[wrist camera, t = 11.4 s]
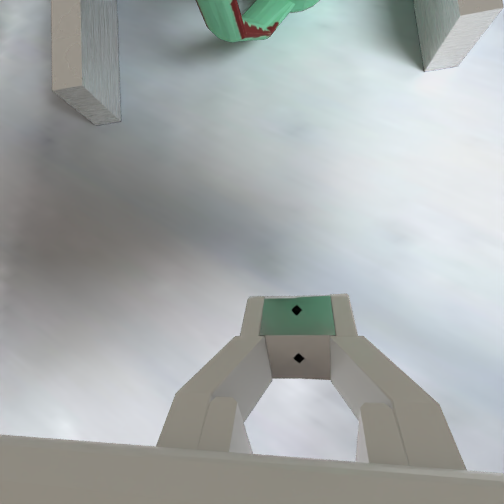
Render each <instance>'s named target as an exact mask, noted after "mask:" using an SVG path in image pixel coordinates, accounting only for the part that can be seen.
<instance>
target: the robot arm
mask: <svg viewBox="0 0 504 504" xmlns="http://www.w3.org/2000/svg"><path fill="white" fill-rule="evenodd" d="M272 378H302V379H321V380H331V382H332V384H333V385H334V387H335V388H336V389H337V391H338V392H339V394H340V395H341V396H342V398H343V399H344V401H345V402H346V404H347V405H348V406H349V408H350V409H351V411H352V412H353V414H354V415H355V416H356V418H357V419H358V421H359V425H358V437H357V448H356V462H351V461H338V460H325V459H313V458H299V457H286V456H273V455H260V454H253V452H252V449H251V446H250V442H249V439H248V436H247V433H246V429H245V426H244V422H245V420H246V419H247V417H248V416H249V414H250V413H251V411H252V410H253V408H254V407H255V405H256V404H257V402H258V401H259V399H260V398H261V397H262V395H263V394H264V392H265V391H266V389H267V388H268V386H269V385H270V383H271V382H272ZM0 504H504V473H492V472H480V471H467V469H466V467H465V465H464V462H463V460H462V458H461V455H460V453H459V450H458V448H457V446H456V443H455V441H454V438H453V436H452V434H451V431H450V429H449V427H448V424H447V422H446V419H445V417H444V415H443V412H442V410H441V407H440V405H439V404H438V403H437V402H436V401H435V400H434V399H433V398H432V397H431V396H430V395H428V394H427V393H426V392H425V391H424V390H423V389H422V388H421V387H420V386H419V385H417V384H416V383H415V382H414V381H413V380H412V379H411V378H410V377H409V376H407V375H406V374H405V373H404V372H403V371H402V370H401V369H400V368H399V367H397V366H396V365H395V364H394V363H393V362H392V361H391V360H390V359H389V358H387V357H386V356H385V355H384V354H383V353H382V352H381V351H380V350H379V349H377V348H376V347H375V346H374V345H373V344H372V343H371V342H370V341H369V340H367V339H366V338H365V337H364V336H358V334H357V329H356V325H355V321H354V316H353V312H352V307H351V303H350V299H349V295H348V294H330V295H308V296H250V297H249V298H248V300H247V305H246V310H245V314H244V319H243V324H242V328H241V333H240V336H235V337H234V338H233V339H232V340H231V341H230V342H229V343H228V344H227V345H226V346H224V347H223V348H222V349H221V350H220V351H219V352H218V353H217V354H216V355H215V356H214V357H213V358H212V359H211V360H210V361H209V362H208V363H207V364H206V365H205V366H204V367H203V368H202V369H201V370H200V371H198V372H197V373H196V374H195V375H194V376H193V377H192V378H191V379H190V380H189V381H188V382H187V383H186V384H185V385H184V386H183V387H182V388H181V389H180V390H179V391H178V392H177V393H176V394H175V397H174V400H173V402H172V405H171V408H170V410H169V413H168V416H167V418H166V421H165V424H164V426H163V429H162V432H161V434H160V437H159V440H158V443H157V445H156V446H143V445H130V444H117V443H104V442H91V441H78V440H65V439H52V438H39V437H26V436H13V435H0Z"/></svg>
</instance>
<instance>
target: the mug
mask: <svg viewBox="0 0 504 504" xmlns="http://www.w3.org/2000/svg"><path fill="white" fill-rule="evenodd" d="M318 1H319V0H256V1H255V2H254V4H253V5H252V6H251V7H250V8H249V9H248V10H247V11H246V12H245V13H244V14H243V16H241V13H240V10H239V6H238V3H237V0H196V2H197V5H198V7H199V9H200V12H201V14H202V16H203V19H204V21H205V23H206V26H207V27H208V28H209V30H210V31H211V32H212V33H213V34H215V35H216V36H217V37H218V38H219V39H222V40H225V41H228V42H238V41H247V40H264V39H267V38H269V37H270V36H271V35H272V33H273V32H274V31H275V30H276V28H277V27H278V26H279V25H280V23H281V22H282V21H283V20H284V18H285V17H286V16H287V15H288V13H289V12H298V11H303V10H305V9H308V8H310V7H312V6H314V5H315V4H316V3H317V2H318Z"/></svg>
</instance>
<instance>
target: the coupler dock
mask: <svg viewBox="0 0 504 504" xmlns="http://www.w3.org/2000/svg"><path fill="white" fill-rule="evenodd" d="M413 2H414V9H415V15H416V22H417V28H418V34H419V41H420V47H421V53H422V60H423V66H424V72H426V71H432V70H438V69H444V68H451V67H457V66H458V65H459V64H460V63H461V62H462V60H463V59H464V58H465V57H466V55H467V54H468V53H469V51H470V50H471V49H472V48H473V46H474V45H475V44H476V42H477V41H478V40H479V39H480V37H481V36H482V35H483V33H484V32H485V31H486V30H487V28H488V27H489V26H490V25H491V23H492V22H493V21H494V19H495V18H496V17H497V16H498V14H499V13H500V12H501V10H502V9H503V8H504V7H503V2H502V0H413ZM51 26H52V91H53V92H54V93H56V94H57V95H58V96H59V97H61V98H62V99H63V100H64V101H66V102H67V103H68V104H69V105H71V106H72V107H73V108H75V109H76V110H77V111H78V112H80V113H81V114H82V115H83V116H85V117H86V118H87V119H88V120H90V121H91V122H92V123H94V124H95V125H102V124H108V123H114V122H121V105H120V77H119V50H118V22H117V0H51Z"/></svg>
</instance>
